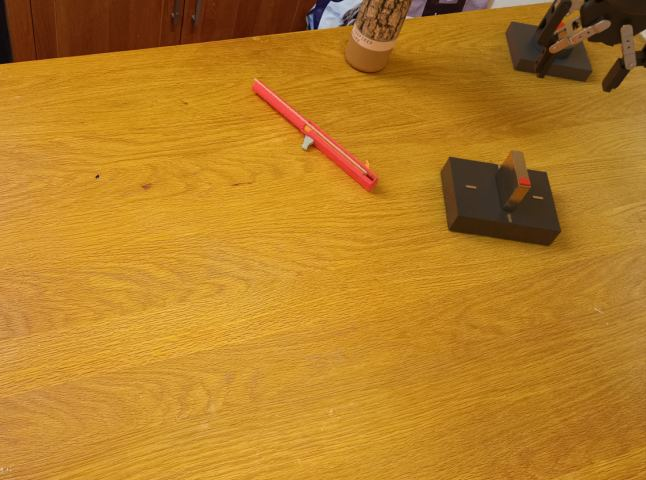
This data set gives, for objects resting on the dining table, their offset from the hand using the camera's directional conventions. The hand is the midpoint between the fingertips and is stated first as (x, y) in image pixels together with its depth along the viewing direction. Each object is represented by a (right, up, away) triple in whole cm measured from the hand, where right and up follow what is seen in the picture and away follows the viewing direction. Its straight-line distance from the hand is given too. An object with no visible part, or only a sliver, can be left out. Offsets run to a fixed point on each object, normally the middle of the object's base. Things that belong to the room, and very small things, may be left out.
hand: (571, 81), depth 94 cm
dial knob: (-7, -13, +5) cm, 15 cm away
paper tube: (-21, +11, +22) cm, 32 cm away
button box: (+10, +14, +28) cm, 33 cm away
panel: (-7, -15, +8) cm, 18 cm away
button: (+11, +16, +25) cm, 32 cm away
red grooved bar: (-32, -5, +10) cm, 34 cm away
